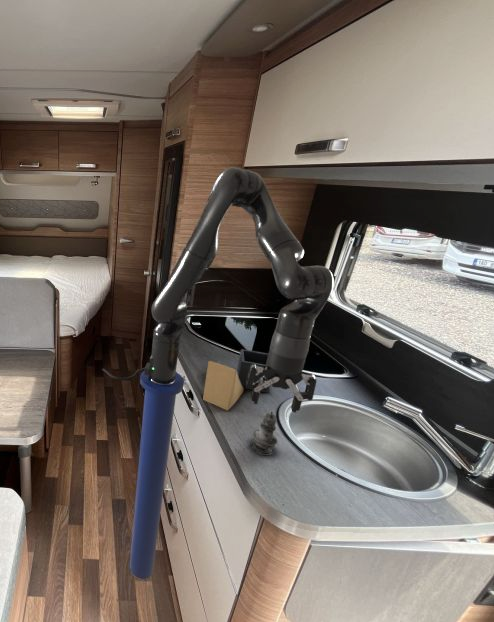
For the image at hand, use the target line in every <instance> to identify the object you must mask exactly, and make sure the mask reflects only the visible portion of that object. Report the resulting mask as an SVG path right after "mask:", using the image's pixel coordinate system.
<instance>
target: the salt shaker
mask: <svg viewBox="0 0 494 622" xmlns="http://www.w3.org/2000/svg"><path fill="white" fill-rule="evenodd" d="M276 423H277V416H276V415H275V414H274V413H273V411H270V412H266V413H264V414H263V418H262V421H261V422H260V423H259V424H260V427H259V429H255V430H254V431H253V432H252V439H253V441H252V442H251V444H250V445H251V448H252V450H253V451H254V452H255V453H257V454H259V455H262V456H271V455H273V454H274V447H276V446H277V444H278V438H277V436H276V435H274V431H276V430H277V427H276Z"/></svg>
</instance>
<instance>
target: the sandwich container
mask: <svg viewBox="0 0 494 622" xmlns="http://www.w3.org/2000/svg"><path fill="white" fill-rule="evenodd" d="M204 382H205V383H204V389H203V397H202V400H203V401H205V402H207V403H209V404H212V405H214V406H216V407H218V408H221V409H223V410H225V411H229V410H230V409H231V408H232V407H233V406H234V405H235V404H236V402H238V400H239V399H240V397H241V396H242V394H243V393H244V391H245V388H243V387H242V384H241V382H240V380H239V377H238V374H237V369H235V368H233V367H230V366H227V365H225V364H222V363H219V362H215V361H212V360H208V362H207V367H206V375H205V381H204Z"/></svg>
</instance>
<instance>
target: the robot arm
mask: <svg viewBox="0 0 494 622" xmlns="http://www.w3.org/2000/svg"><path fill="white" fill-rule="evenodd" d="M230 207H236V208H242V210H244V211H245V212H246V213H247V214H248V215H249V216H250V217H251V219H252V221H253V223H254V228H255V229H254V231H255V239H256V241H257V244H258V246H259V248H260V249H261V251H262V253H263V254H264V255H265V257H266V259H267V260H268V261H269V263H270V265H271V270H272V274H273V278H274V282H275V285H276V287H277V290H278V291H279V293H280V294H281V295H283V296H284V297H285V298H287V299H289V300H293V301H292V302H291V303H289V304H287V305H285V306H283V307H282V308H281V309H279V310H280V311H279V312H278V317H277V320H276V324H275V328H274V332H273V333H272V334H273V335H272V337H271V341H270V344H269V348H268V349H269V350H268V353H267V354H268V358H267V362H266V365H265V366H264V367H258V366H256V364H251V366H250V370H249V373H248V376H247V380H246V384H247V385H246V386H247V388H249V389H248V390H251V389H252V390H251V391H252V392H251V395H250V398H251V402H253V404H254V405H258V403H259V399H260V394H261V392H260V390H262V389H264V388H267V387H269V388H270V387H272V388H280V389H283V390H288V389H290V391H291V393H293V398H292V402H291V405H290V409H291V412H292V413H297V412H299V411H300V410H301V406H302V404H303V403H302V402H304V400H305V401H306V400H307V401H312V400H313V399H314V394H315V390H316V386H317V378H316V376H315V373H309V374H303V371H304V367H305V363H306V359H307V356H308V354H309V350H310V349H309V348H310V344H311V343H310V342H311V338H312V337H311V336H312V333H313V329H314V326H315V321H316V319H317V318H318V316H319V315H320V313H321V312H322V311H323V308H324V306H326V303H327V302H328V300H329V298H330V296H331V294H332V292H333V290H334V289H333V288H334V284H335V283H334V276H333V273H332V272H331V270H330V269H329V268H328V267H326V266H323V265H308V266H307V265H305V266H301V265H300V263H298V262H299V261H300V260H301V259H302V258H303V257H304V254H305V249H304V247H303V246H302V244H301V242H300V241H299V240H298V238H297V237H296V235H295V234H294V233H293V232H292V230H291V229H290V227H289V226H288V225H287V224H286V222H285V221H284V219H283V218H282V216H281V214H280V213H279V210H278V209H277V207H276V205H275V203H274V201H273V199H272V197H271V195H270V193H269V190H268V187H267V185H266V183H265V181H264V179H263V177H262V176H261V175H260V174H259V173H257V172H256V171H253V170H250V169H245V168H241V167H236V166H229V167H227V168H226V169H224V170H223V171H221V173H220V174H219V175H218V177H217V178H216V181H215V182H214V184H213V186H212V189H211V191H210V193H209V196H208V197H207V201H206V203H205V205H204V208H203V210H202V211H201V215H200V217H199V219H198V221H197V223H196V225H195V227H194V229H193V231H192V233H191V235H190V237H189V239H188V241H186V244H185V246H184V247H183V250H182V251H181V253H180V255H179V256H178V259H177V262H176V263H175V264H174V266H173V269H172V271H171V272H170V275H169V277H168V279H167V281H166V282H165V284H164V286H163V287H162V288H161V290H160V292H159V293H158V294H157V296H156V297H155V299H154V300H153V302H152V304H151V315H152V318H153V319H154V321H156V322H157V323H158V324H157V325H156V326H155V327H154V329H153V335H152V336H153V337H152V345H151V355H150V357H149V362H146V364H145V367H143V368H139V369H137V370H136V371H135V372H134V374H131V376H128V377H120V376H119V377H118V376H114V375H113V374H112V373H110V372H109V371H108V370H107V369H105V368H102V371H103V372H105V373H106V374H107V375H108V376H109V377H110V378H112V379H113V380H118V381H128V380H131V379H133V378H135V377H137V375H138V373H140V372H143V371H144V370H145V371H144V375H148V380H150V381H152V382H153V383H155V384H157V385H162V386H168V385H172V384H173V383H174V382H175V376H176V373H178V372H177V366H178V358H179V351H180V342H181V335H182V334H183V332H184V329H185V324H186V318H187V311H188V305H187V304H188V303H187V301H186V299H185V296H186V294H188V292H189V291H190V290H191V289H192V288H193V287H194V286H195V284H197V283H198V282H199V281H200V280H201V278H202V277H203V276H205V274H206V273H207V271H208V270H209V269H210V267H211V265H212V263H213V262H214V261H215V258H216V257H217V255H218V252H219V248H220V227H221V224H222V223H223V220H224V218H225V216H226V214H227V212H228V211H229V209H230ZM261 372H263V375H264V376H263V377H261V378H260V380H259V381H257V382H256V383H254V378H255V375H258V374H259V373H261ZM302 381H303V382H304V384H305V389H304V391H301V389H299V386H298V383H300V382H302ZM250 388H251V389H250Z"/></svg>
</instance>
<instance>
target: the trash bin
mask: <svg viewBox="0 0 494 622" xmlns="http://www.w3.org/2000/svg"><path fill="white" fill-rule="evenodd" d="M267 358H268V353H266V352H261V351H255V350H249V349H243V348H241V349H240V352H239V358H238V362H237V366H236V370H237V374H238V377H239V380H240V382H241V384H242V387H243V389H246V390H251V391H253V390H252V389H251V388H250V389H249V388H247V386H246V385H247V384H246V380H247V376H248V373H249V370H250V366H251V364H256V366H258V367H264V366H265V365H266V362H267ZM263 376H264V375H263V372H261V373H259V374H258V375H255V378H254V383H256V382H257V381H259V380H260V378H261V377H263ZM269 390H270V386H269V387H267V388H264V389H262V390H260V391H259V392H260V393H266V394H268V393H269Z"/></svg>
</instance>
